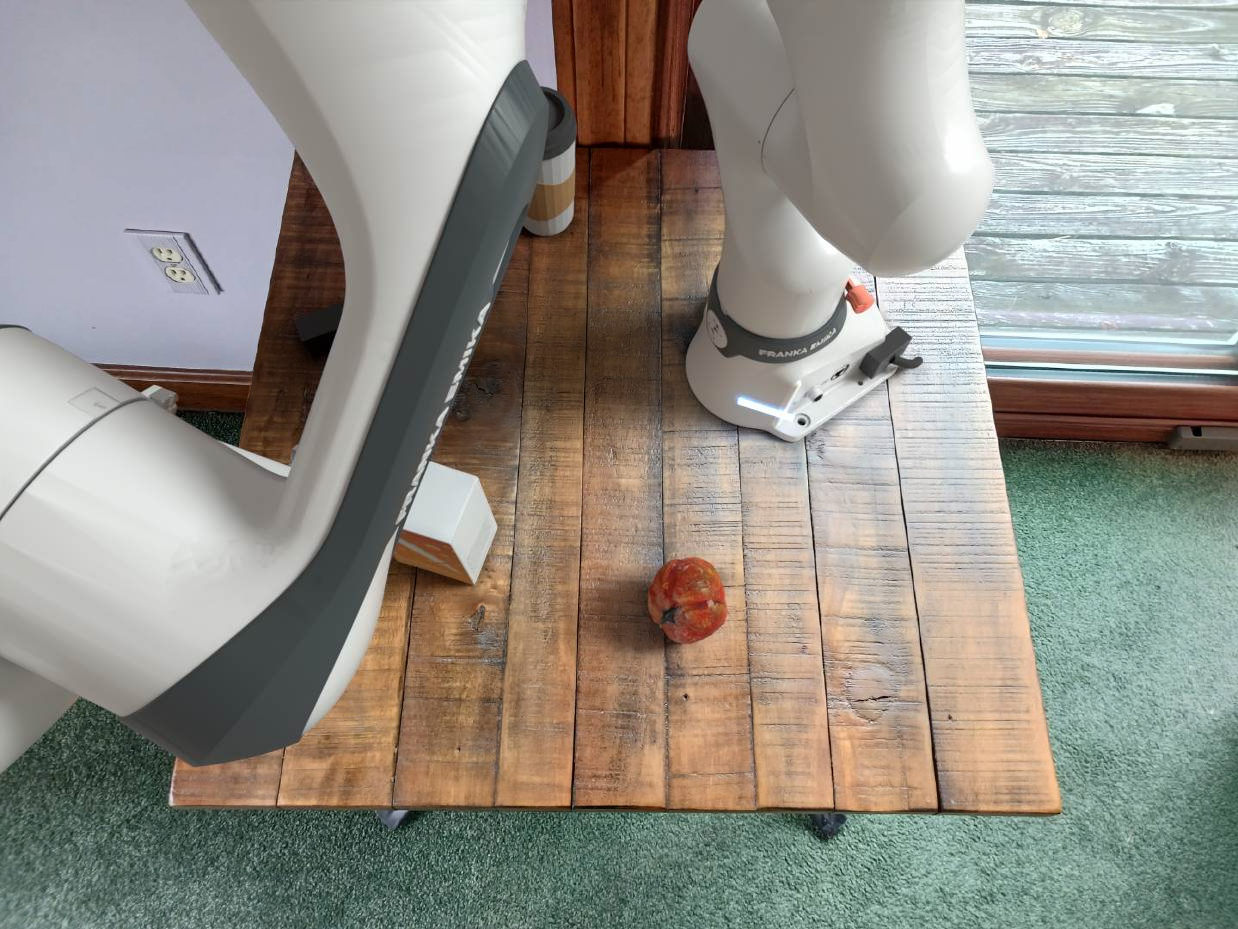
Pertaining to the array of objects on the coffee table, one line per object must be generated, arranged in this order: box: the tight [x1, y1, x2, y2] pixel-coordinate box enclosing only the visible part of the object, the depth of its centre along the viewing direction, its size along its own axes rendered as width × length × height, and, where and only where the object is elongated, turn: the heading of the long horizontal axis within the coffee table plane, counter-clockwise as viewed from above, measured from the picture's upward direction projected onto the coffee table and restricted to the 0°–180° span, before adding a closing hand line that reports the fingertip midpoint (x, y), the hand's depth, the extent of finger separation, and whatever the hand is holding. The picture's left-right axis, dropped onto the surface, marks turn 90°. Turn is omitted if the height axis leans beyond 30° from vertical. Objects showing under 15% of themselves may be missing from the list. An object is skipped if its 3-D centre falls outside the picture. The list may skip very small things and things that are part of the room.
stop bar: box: [293, 300, 345, 360], centre depth 86 cm, size 12×3×4 cm, turn 115°
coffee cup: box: [522, 85, 578, 237], centre depth 87 cm, size 8×8×15 cm
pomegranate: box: [647, 556, 728, 645], centre depth 72 cm, size 7×7×10 cm
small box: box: [392, 460, 498, 586], centre depth 71 cm, size 8×6×13 cm
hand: (240, 426), depth 51 cm, fingers open, 8 cm apart
